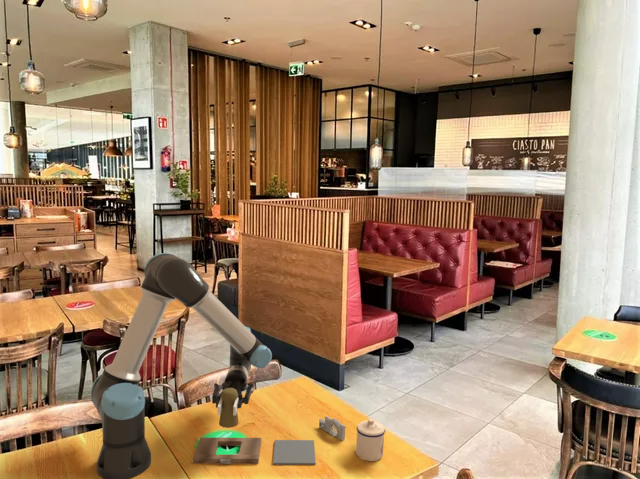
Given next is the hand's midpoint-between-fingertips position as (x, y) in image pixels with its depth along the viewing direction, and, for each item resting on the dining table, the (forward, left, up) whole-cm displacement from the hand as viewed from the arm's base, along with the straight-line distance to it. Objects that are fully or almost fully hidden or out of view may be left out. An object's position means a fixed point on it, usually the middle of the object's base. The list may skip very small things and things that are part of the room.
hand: (226, 410), depth 145 cm
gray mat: (+21, +5, -17) cm, 27 cm away
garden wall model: (+34, +17, -17) cm, 42 cm away
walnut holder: (0, +5, -17) cm, 17 cm away
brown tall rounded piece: (0, +5, -7) cm, 9 cm away
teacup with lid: (+45, +6, -17) cm, 48 cm away
